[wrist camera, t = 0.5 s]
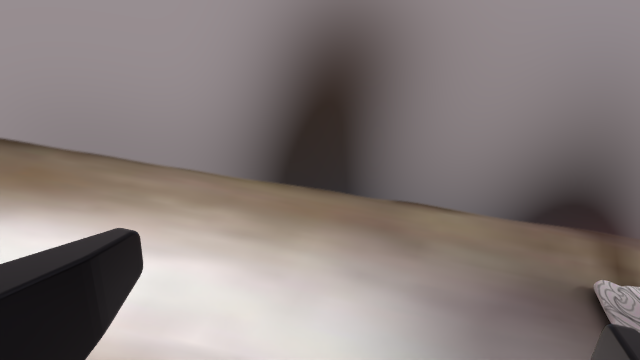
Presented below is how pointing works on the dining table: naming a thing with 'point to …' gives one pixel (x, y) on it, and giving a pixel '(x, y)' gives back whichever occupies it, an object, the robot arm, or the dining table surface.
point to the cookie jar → (619, 303)
